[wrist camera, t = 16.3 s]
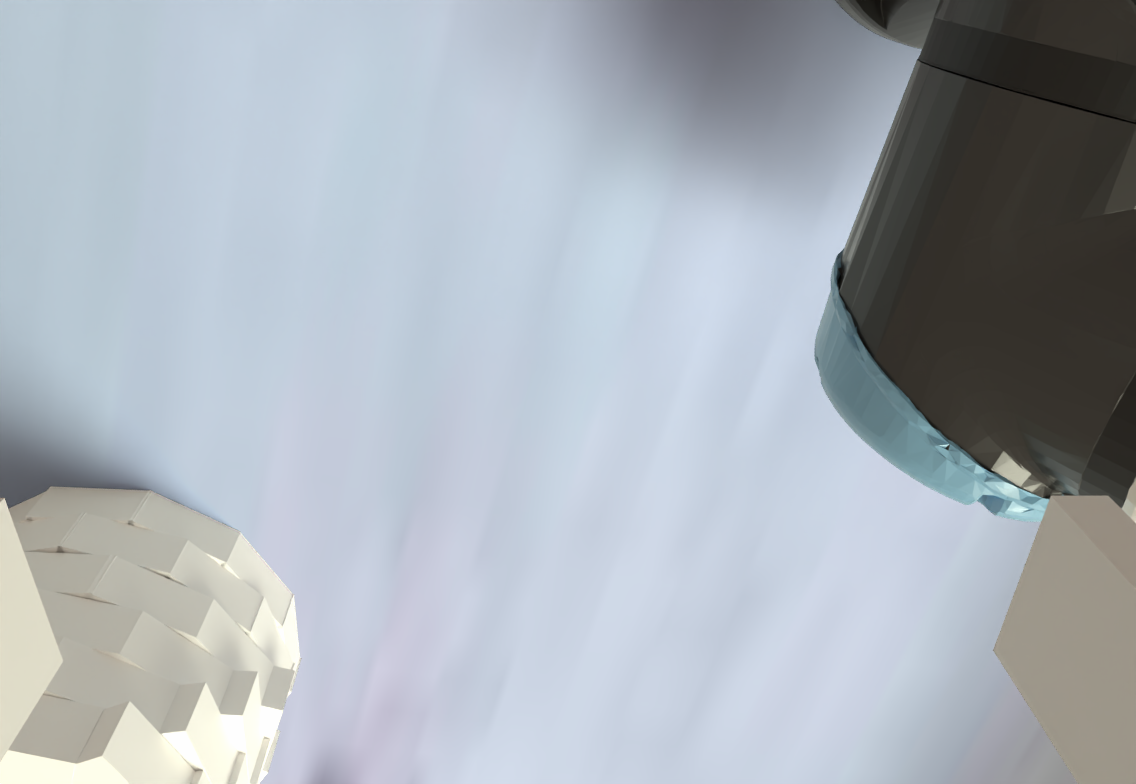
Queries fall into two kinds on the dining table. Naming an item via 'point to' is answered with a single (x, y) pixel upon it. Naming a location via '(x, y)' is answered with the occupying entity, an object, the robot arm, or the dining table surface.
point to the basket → (152, 644)
